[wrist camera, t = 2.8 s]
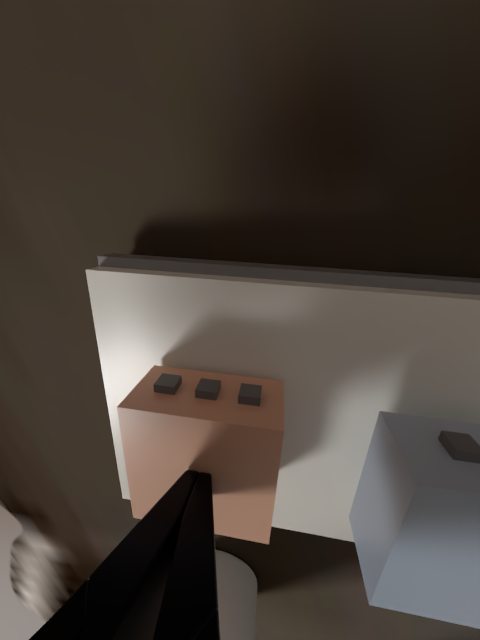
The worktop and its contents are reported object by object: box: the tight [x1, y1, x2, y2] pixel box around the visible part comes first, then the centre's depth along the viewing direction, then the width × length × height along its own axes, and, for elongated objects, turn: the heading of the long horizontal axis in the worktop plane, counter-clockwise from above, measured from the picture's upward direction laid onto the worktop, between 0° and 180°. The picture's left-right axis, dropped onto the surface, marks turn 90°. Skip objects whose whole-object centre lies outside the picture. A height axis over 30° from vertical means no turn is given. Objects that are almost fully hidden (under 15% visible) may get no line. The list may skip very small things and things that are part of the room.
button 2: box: [349, 411, 480, 629], centre depth 8 cm, size 5×5×2 cm
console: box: [86, 253, 480, 542], centre depth 11 cm, size 26×12×2 cm, turn 87°
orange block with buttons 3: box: [117, 365, 284, 544], centre depth 10 cm, size 5×5×2 cm
